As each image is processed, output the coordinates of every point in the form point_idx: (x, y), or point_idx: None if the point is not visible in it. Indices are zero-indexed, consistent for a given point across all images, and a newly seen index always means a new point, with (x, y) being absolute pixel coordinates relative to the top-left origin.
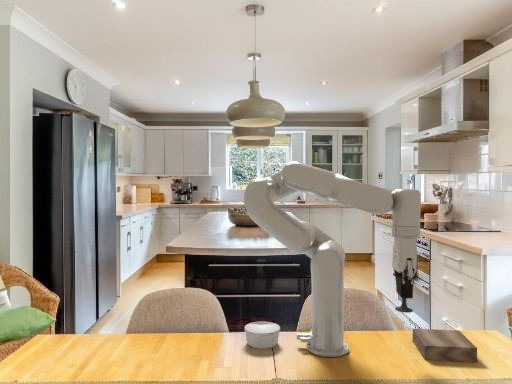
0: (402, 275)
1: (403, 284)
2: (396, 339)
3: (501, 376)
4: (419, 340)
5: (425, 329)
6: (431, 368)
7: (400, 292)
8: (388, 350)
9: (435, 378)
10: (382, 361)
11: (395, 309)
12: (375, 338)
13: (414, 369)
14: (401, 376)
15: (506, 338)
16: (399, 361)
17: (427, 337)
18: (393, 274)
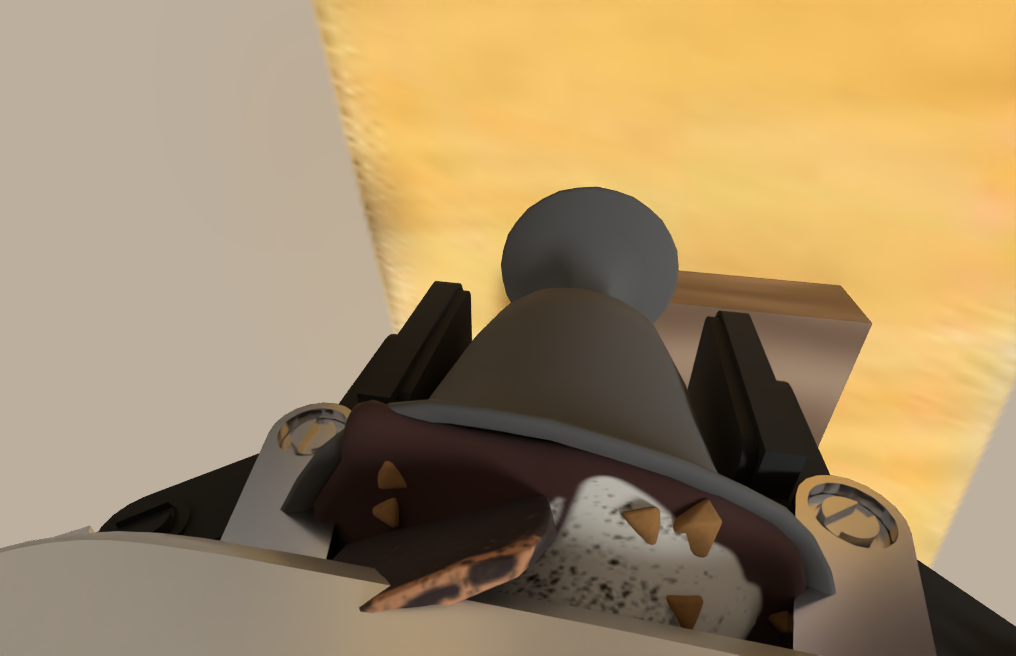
0: (246, 544)
1: None
2: (894, 197)
3: None
4: (682, 298)
5: (835, 389)
6: (476, 256)
7: (496, 318)
8: (707, 92)
9: (379, 236)
10: (534, 8)
11: (583, 188)
12: (958, 40)
13: (453, 173)
14: (361, 80)
15: None
16: (542, 120)
17: (691, 350)
18: (528, 429)
